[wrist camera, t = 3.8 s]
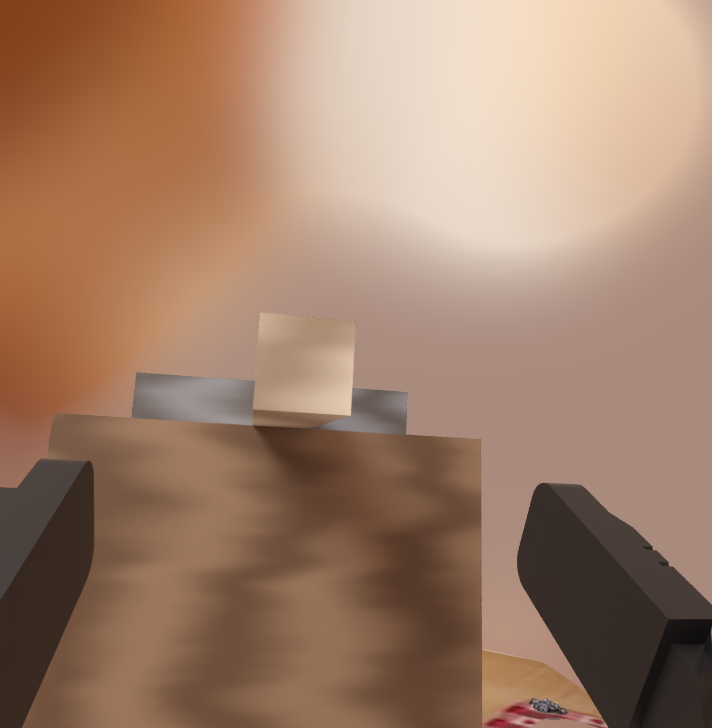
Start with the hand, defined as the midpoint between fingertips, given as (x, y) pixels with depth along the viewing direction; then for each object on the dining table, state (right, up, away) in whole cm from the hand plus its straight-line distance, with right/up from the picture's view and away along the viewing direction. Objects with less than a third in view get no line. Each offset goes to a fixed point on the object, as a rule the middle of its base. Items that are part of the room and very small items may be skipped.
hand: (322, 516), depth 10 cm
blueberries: (+28, -47, +71) cm, 89 cm away
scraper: (-3, -1, +16) cm, 16 cm away
